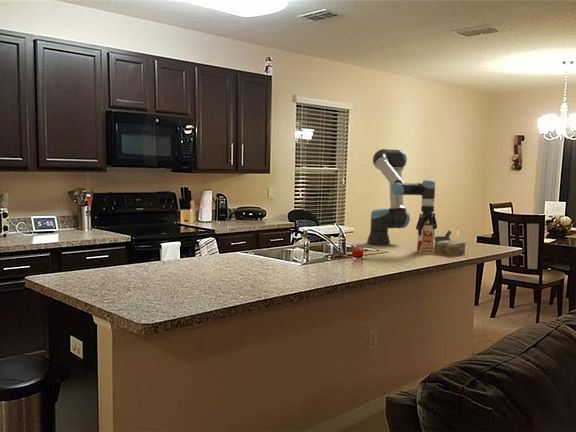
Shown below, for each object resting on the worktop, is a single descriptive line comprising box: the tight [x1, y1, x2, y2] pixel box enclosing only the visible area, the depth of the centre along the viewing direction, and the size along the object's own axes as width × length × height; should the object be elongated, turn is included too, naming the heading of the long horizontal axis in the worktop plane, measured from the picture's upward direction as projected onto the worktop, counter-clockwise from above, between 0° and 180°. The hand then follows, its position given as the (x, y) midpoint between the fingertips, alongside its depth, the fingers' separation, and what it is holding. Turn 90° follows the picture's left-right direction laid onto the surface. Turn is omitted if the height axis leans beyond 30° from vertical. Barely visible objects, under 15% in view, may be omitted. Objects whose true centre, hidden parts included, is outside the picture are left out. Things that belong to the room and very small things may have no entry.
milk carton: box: [416, 221, 435, 254], centre depth 327 cm, size 9×9×20 cm
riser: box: [434, 240, 467, 257], centre depth 324 cm, size 13×13×7 cm
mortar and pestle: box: [434, 229, 453, 243], centre depth 347 cm, size 11×9×12 cm
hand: (426, 239), depth 327 cm, fingers open, 13 cm apart
